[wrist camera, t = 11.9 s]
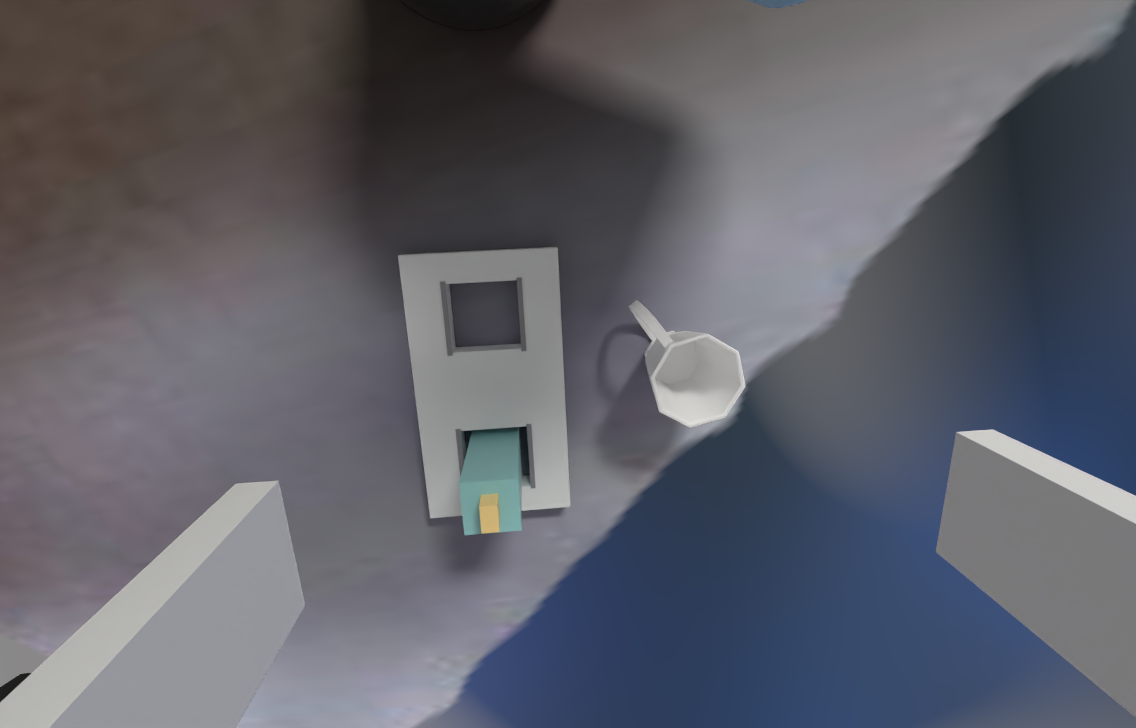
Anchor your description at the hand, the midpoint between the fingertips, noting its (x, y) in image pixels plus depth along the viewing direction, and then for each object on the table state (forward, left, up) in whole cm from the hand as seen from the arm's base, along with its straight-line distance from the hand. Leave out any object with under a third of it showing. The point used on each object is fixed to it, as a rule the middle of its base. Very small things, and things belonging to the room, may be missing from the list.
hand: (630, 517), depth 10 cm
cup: (+4, +9, -35) cm, 36 cm away
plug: (+13, -5, -34) cm, 37 cm away
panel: (+7, -5, -34) cm, 35 cm away
